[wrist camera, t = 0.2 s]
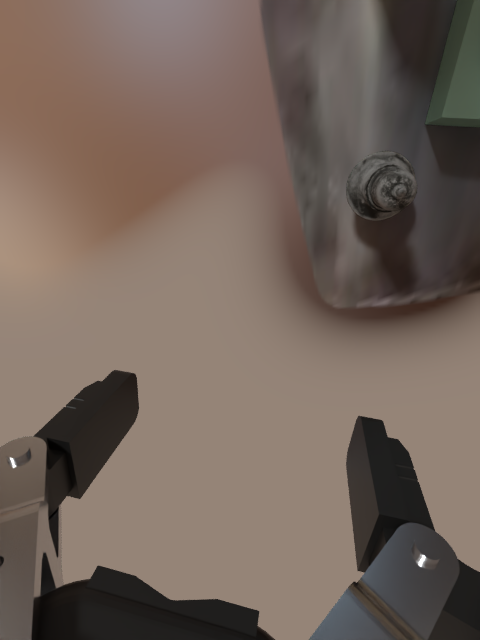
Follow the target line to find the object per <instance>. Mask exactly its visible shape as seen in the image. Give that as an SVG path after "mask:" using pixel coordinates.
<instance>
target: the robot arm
mask: <svg viewBox="0 0 480 640" xmlns="http://www.w3.org/2000/svg"><path fill="white" fill-rule="evenodd" d="M138 410H139V403H138V388H137V377H136V375H135V374H134V373H129V372H123V371H118V370H114V371H112V372H111V373H110V374H109V375H108V376H107V378H105V379H104V380H103V381H97V382H95V383H93V384H91V385H89V386H87V387H85V388H84V389H83V390H82V391H81V392H80V393H79V394H77V395H76V396H75V397H74V399H72V400H71V401H70V402H69V403H68V404H67V405H66V407H64V408H63V409H62V410H61V411H59V412H58V413H57V414H56V415H55V416H54V417H53V418H52V419H51V420H50V421H49V422H48V423H47V424H46V425H45V426H44V427H43V428H42V429H41V430H39V432H37V433H36V434H35V435H34V436H33V437H32V436H29V437H22V438H18V439H15V440H12V441H10V442H8V443H6V444H5V445H3V446H1V447H0V640H275V639H274V638H272V637H271V636H270V635H269V634H268V633H267V632H266V631H264V630H263V629H261V628H260V627H258V626H257V625H258V617H259V611H257V610H253V609H250V608H247V607H243V606H239V605H236V604H232V603H229V602H225V601H222V600H218V599H209V600H179V601H175V600H170V599H168V598H166V597H165V596H163V595H162V594H161V593H159V592H158V591H156V590H155V589H153V588H152V587H150V586H149V585H148V584H146V583H144V582H143V581H142V580H140V579H139V578H137V577H136V576H134V575H130V574H126V573H123V572H119V571H116V570H112V569H109V568H105V567H102V566H97V568H96V570H95V572H94V573H93V575H92V577H91V579H86V580H81V581H76V582H72V583H69V584H66V585H63V577H62V565H61V506H60V504H61V503H62V501H63V500H64V499H65V498H66V496H71V497H74V498H79V499H80V498H81V497H82V496H83V494H84V493H85V491H86V490H87V489H88V487H89V486H90V484H91V483H92V481H93V480H94V479H95V477H96V475H97V474H98V473H99V471H100V470H101V469H102V467H103V466H104V465H105V463H106V462H107V460H108V459H109V457H110V456H111V455H112V453H113V452H114V451H115V449H116V448H117V446H118V445H119V444H120V442H121V441H122V439H123V438H124V436H125V435H126V434H127V432H128V431H129V429H130V428H131V427H132V425H133V424H134V422H135V420H136V418H137V414H138ZM346 466H347V477H348V486H349V496H350V505H351V514H352V522H353V532H354V542H355V551H356V560H357V569H358V571H361V572H365V573H364V575H363V576H362V577H361V579H360V580H359V581H358V582H357V583H356V582H353V583H352V584H351V585H350V586H349V587H348V589H347V590H346V591H345V592H344V594H343V595H342V596H341V598H340V599H339V600H338V602H337V603H336V604H335V606H334V607H333V608H332V609H331V611H330V612H329V614H328V615H327V616H326V618H325V619H324V620H323V621H322V623H321V624H320V625H319V627H318V628H317V629H316V631H315V632H314V633H313V635H312V636H311V637H310V639H309V640H480V572H478V571H476V570H474V569H472V568H471V567H469V566H467V565H465V564H464V563H463V562H461V561H460V560H458V559H457V556H456V554H455V552H454V551H453V549H452V548H451V547H450V545H449V544H448V543H447V541H445V539H444V538H443V537H441V536H440V535H439V534H438V533H436V532H435V529H434V527H433V523H432V521H431V517H430V515H429V511H428V508H427V506H426V503H425V500H424V497H423V494H422V491H421V488H420V485H419V482H418V481H417V480H418V479H417V476H416V473H415V470H414V469H413V468H414V467H413V464H412V461H411V458H410V455H409V452H408V451H407V450H406V449H405V447H404V446H403V445H402V444H401V443H400V441H399V440H398V439H394V438H388V437H387V433H386V430H385V426H384V423H383V421H382V420H378V419H373V418H367V417H362V416H358V418H357V420H356V423H355V427H354V431H353V434H352V437H351V441H350V444H349V448H348V452H347V462H346Z"/></svg>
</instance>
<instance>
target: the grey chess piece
mask: <svg viewBox="0 0 480 640" xmlns="http://www.w3.org/2000/svg"><path fill="white" fill-rule="evenodd" d="M416 193H417V182H416V179H415V173H414V170H413V168H412V166H411V164H410V162H409V161H408V160H407V159H406V158H405V157H404V156H402V155H400V154H398V153H396V152H390V151H382V152H376V153H374V154H371V155H369V156H367V157H366V158H364V159H363V160H361V161H360V162H359V163H358V164H357V165H356V166H355V168H354V169H353V170H352V172H351V174H350V176H349V178H348V181H347V187H346V195H347V200H348V203H349V205H350V207H351V208H352V210H353V211H354V212H355V213H356V214H357V215H358V216H360V217H362V218H364V219H368V220H373V221H376V220H384V219H387V218H390V217H392V216H394V215H396V214H397V213H399V212H400V211H401V210H402V209H404V208H405V207H407V206H408V205H409V204H410V203H411V202H412V201H413V199H414V198H415V195H416Z"/></svg>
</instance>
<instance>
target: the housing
mask: <svg viewBox="0 0 480 640" xmlns="http://www.w3.org/2000/svg"><path fill="white" fill-rule="evenodd" d="M425 125H443V126H462V127H480V0H457V3H456V7H455V11H454V14H453V18H452V22H451V26H450V30H449V34H448V37H447V41H446V45H445V49H444V53H443V57H442V60H441V64H440V68H439V72H438V76H437V80H436V83H435V87H434V91H433V95H432V99H431V103H430V106H429V110H428V114H427V118H426V122H425Z"/></svg>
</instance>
